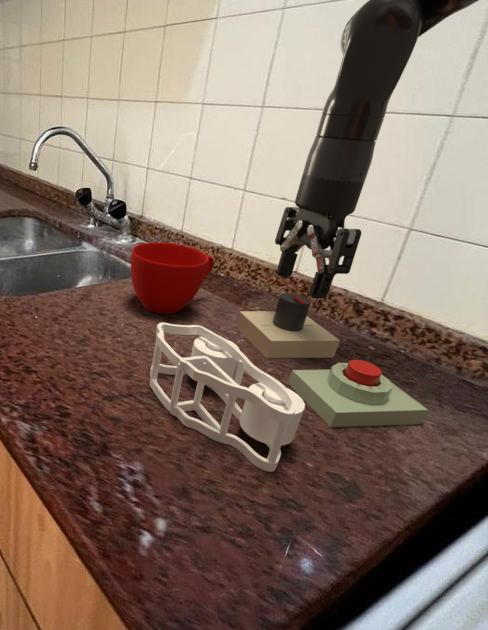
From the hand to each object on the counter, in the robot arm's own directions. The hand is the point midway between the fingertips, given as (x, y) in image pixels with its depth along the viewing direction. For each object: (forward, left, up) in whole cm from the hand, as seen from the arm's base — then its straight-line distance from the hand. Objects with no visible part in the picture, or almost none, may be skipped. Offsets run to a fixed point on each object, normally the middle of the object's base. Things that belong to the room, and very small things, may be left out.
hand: (298, 285), depth 67 cm
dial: (0, 0, -7) cm, 7 cm away
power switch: (0, +16, -10) cm, 19 cm away
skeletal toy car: (+19, +17, -10) cm, 27 cm away
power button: (0, +16, -6) cm, 17 cm away
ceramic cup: (+14, -14, -10) cm, 22 cm away
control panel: (0, 0, -10) cm, 10 cm away
